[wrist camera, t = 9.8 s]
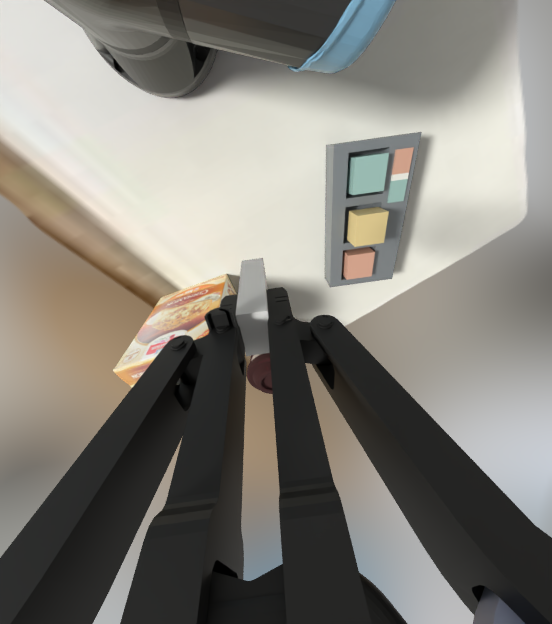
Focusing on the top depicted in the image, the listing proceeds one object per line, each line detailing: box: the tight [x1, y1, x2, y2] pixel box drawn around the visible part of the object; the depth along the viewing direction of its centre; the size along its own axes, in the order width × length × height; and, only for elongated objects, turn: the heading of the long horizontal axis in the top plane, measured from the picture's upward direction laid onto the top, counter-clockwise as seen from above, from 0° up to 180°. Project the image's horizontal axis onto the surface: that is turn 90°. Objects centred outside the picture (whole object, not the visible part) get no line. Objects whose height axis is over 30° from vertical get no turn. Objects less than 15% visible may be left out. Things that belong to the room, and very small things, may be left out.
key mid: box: [347, 207, 389, 247], centre depth 36 cm, size 5×5×4 cm
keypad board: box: [325, 132, 421, 287], centre depth 39 cm, size 22×12×4 cm, turn 7°
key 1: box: [342, 247, 375, 280], centre depth 42 cm, size 5×5×4 cm
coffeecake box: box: [113, 274, 236, 387], centre depth 39 cm, size 15×7×20 cm, turn 108°
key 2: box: [346, 153, 389, 195], centre depth 34 cm, size 5×5×4 cm
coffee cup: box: [247, 353, 273, 394], centre depth 48 cm, size 10×10×15 cm
